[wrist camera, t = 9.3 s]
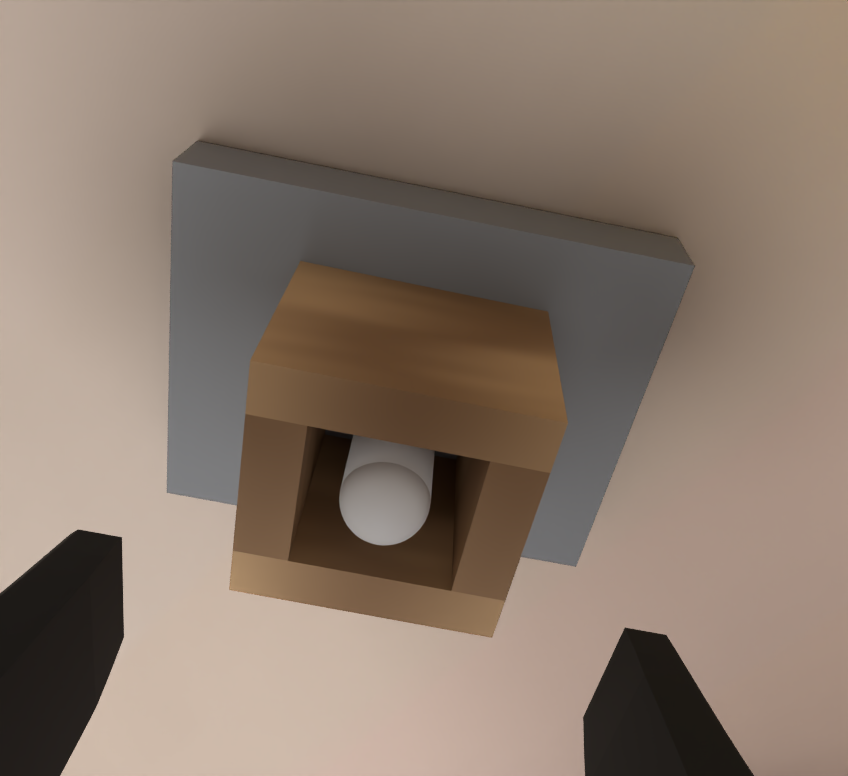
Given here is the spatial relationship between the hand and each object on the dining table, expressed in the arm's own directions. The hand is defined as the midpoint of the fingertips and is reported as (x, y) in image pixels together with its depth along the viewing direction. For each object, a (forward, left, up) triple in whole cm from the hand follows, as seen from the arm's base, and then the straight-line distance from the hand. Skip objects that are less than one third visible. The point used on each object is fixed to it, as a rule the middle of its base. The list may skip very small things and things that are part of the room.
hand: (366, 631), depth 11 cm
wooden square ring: (0, 0, -7) cm, 7 cm away
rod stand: (0, 0, -8) cm, 8 cm away
